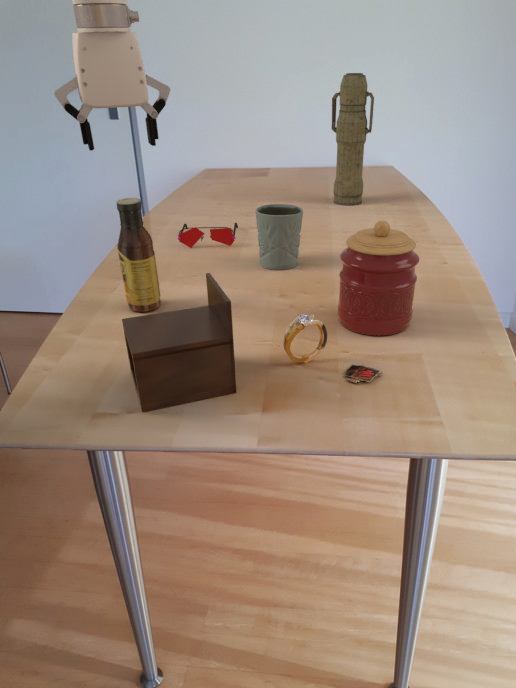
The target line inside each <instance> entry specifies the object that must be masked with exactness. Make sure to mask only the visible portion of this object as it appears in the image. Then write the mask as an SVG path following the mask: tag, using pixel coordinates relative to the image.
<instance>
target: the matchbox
mask: <svg viewBox="0 0 516 688" xmlns="http://www.w3.org/2000/svg"><path fill="white" fill-rule="evenodd" d="M382 375H383V371H381V370H380V369H378V368H377V369H376V368H374V367H369V366H368V367H367V366H365V365H361V364H360V365H358V364H351V365H350V366H349V367H348V368H347V369H346V371H345V375H344V376H347V381H348V382H350V383H354V384H358V383H357V382H358V381H359V382H367V383H370V382H372V381H373V380H374V379H375V378H376V377H380V376H382ZM356 381H357V382H356Z"/></svg>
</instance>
